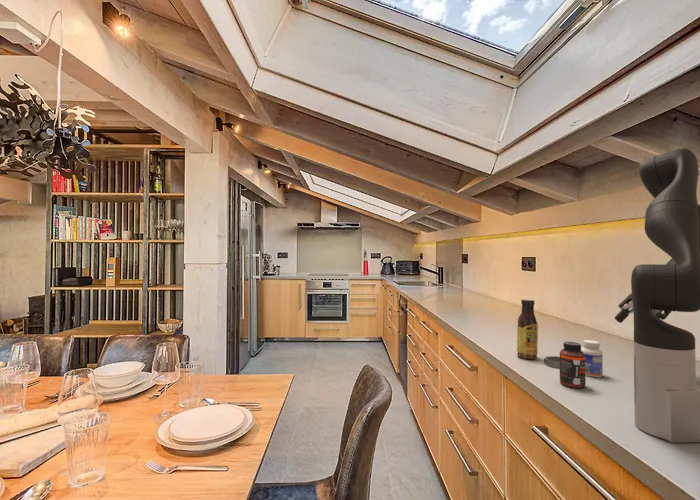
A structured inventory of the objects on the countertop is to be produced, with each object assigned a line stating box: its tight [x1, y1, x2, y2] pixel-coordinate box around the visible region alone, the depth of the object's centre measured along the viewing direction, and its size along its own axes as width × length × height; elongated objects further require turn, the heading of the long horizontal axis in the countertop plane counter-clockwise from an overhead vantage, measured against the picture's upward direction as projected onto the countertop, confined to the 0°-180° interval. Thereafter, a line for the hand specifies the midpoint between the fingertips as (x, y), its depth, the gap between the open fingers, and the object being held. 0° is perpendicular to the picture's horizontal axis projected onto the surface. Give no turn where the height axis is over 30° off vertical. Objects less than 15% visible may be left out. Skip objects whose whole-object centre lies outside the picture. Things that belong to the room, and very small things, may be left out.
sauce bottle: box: [516, 298, 539, 360], centre depth 120 cm, size 6×6×20 cm
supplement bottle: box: [559, 341, 587, 389], centre depth 95 cm, size 6×6×11 cm
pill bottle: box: [581, 339, 604, 378], centre depth 103 cm, size 5×5×10 cm
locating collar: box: [543, 355, 560, 370], centre depth 112 cm, size 8×8×2 cm
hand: (628, 323), depth 104 cm, fingers open, 8 cm apart
